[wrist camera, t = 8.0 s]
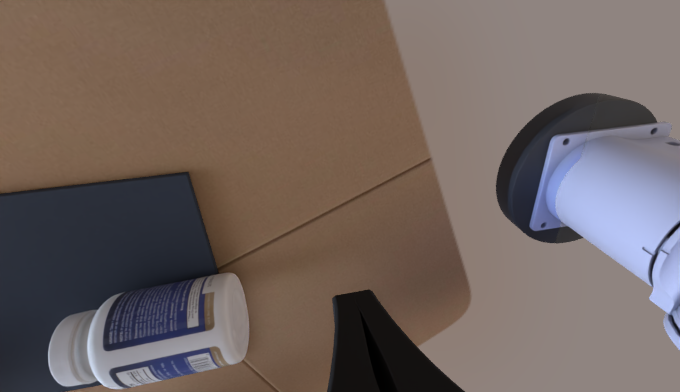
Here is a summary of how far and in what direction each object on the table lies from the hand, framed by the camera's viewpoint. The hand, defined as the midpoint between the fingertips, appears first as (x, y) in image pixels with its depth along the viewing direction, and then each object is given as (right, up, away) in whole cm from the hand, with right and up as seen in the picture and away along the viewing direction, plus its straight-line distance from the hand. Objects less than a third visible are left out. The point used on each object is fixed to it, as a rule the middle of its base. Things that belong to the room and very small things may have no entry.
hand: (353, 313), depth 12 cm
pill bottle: (-6, -3, +9) cm, 11 cm away
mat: (-19, -3, +10) cm, 21 cm away
